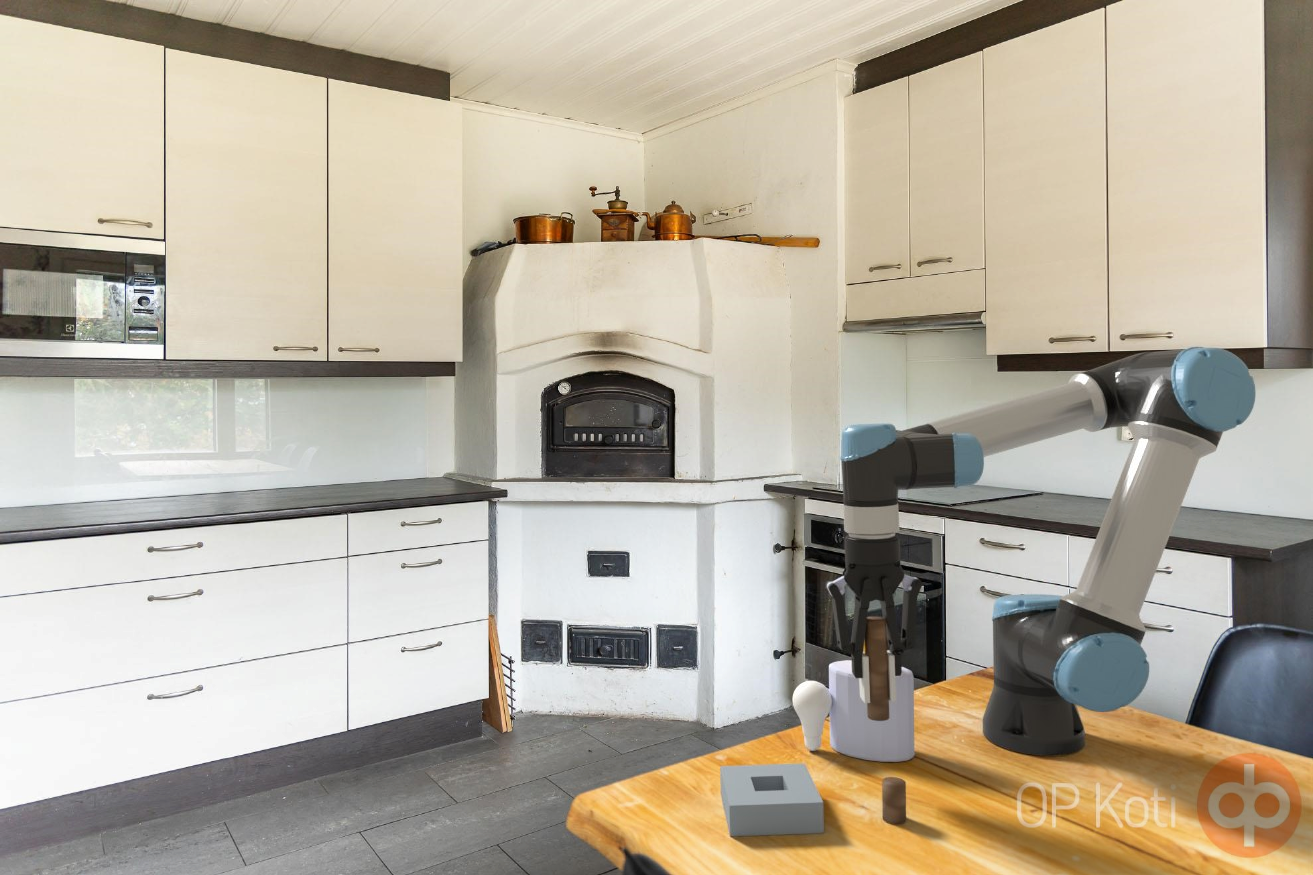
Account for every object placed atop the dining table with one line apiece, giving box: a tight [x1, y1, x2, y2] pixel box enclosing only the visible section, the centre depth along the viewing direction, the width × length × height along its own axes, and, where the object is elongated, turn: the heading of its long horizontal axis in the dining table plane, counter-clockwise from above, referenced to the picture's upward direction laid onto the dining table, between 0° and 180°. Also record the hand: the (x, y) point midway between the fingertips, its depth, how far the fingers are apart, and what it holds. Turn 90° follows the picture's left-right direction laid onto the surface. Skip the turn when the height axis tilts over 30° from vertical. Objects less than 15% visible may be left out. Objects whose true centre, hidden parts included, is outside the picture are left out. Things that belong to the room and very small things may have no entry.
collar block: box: [719, 762, 825, 837], centre depth 117 cm, size 12×12×4 cm
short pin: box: [881, 776, 907, 826], centre depth 114 cm, size 3×3×5 cm
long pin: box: [865, 616, 889, 721], centre depth 123 cm, size 3×3×14 cm
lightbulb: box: [792, 680, 832, 752], centre depth 137 cm, size 6×6×11 cm
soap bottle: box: [828, 640, 915, 763], centre depth 136 cm, size 13×8×20 cm, turn 63°
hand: (877, 698), depth 123 cm, fingers closed on long pin, 3 cm apart
